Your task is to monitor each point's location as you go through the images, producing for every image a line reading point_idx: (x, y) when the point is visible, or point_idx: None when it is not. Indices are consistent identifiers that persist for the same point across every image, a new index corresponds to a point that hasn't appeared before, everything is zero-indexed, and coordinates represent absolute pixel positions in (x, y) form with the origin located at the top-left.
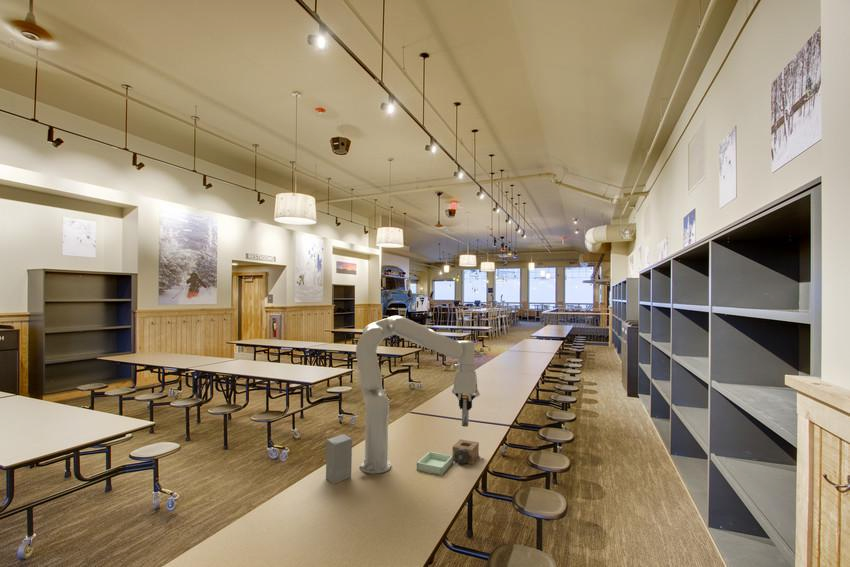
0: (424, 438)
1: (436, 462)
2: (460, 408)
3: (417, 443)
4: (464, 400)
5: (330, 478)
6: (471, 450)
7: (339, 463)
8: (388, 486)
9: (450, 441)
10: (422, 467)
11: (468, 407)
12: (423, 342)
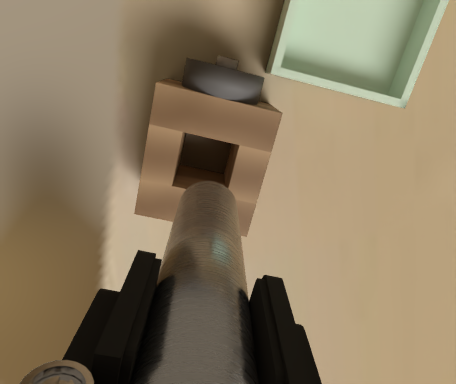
0: (412, 323)
1: (352, 39)
2: (270, 277)
3: (445, 265)
4: (205, 379)
5: None
6: (160, 83)
7: None
8: None
9: (294, 316)
10: None
11: (135, 271)
12: None
